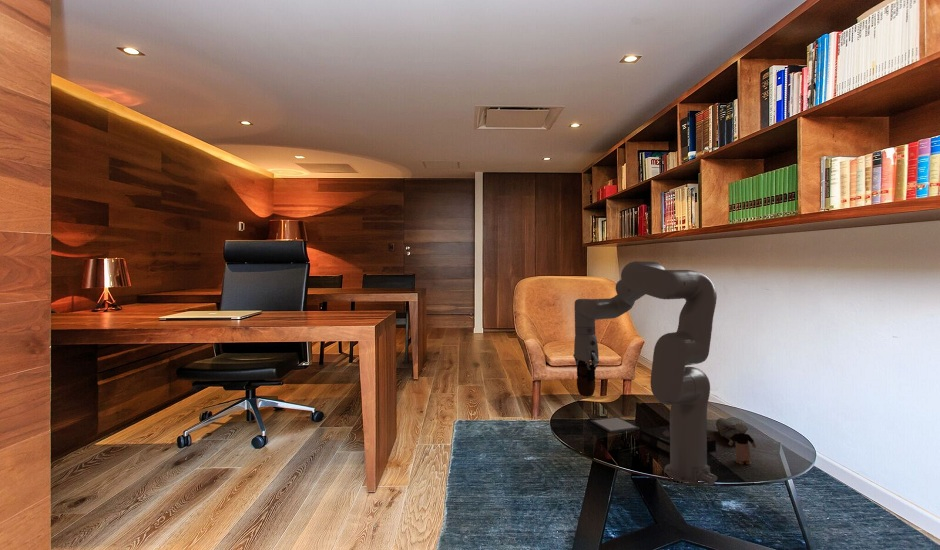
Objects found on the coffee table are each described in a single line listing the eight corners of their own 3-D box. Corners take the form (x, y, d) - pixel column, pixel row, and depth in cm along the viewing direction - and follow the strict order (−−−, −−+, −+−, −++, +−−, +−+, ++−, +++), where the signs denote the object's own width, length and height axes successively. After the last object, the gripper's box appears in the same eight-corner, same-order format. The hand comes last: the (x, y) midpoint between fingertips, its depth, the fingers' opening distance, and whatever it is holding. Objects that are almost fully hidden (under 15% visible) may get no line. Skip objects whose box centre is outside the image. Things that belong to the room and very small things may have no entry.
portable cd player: (639, 441, 147) (639, 430, 147) (675, 434, 153) (675, 424, 153) (676, 460, 132) (676, 447, 132) (715, 452, 138) (715, 440, 138)
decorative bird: (727, 432, 155) (727, 412, 155) (747, 449, 139) (746, 427, 139) (711, 431, 156) (711, 411, 156) (729, 448, 140) (729, 426, 140)
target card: (639, 429, 158) (639, 427, 158) (610, 433, 154) (610, 431, 154) (617, 418, 170) (617, 416, 170) (590, 421, 166) (590, 420, 166)
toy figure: (749, 459, 131) (748, 419, 131) (758, 465, 127) (757, 423, 127) (725, 460, 131) (725, 419, 131) (733, 465, 127) (733, 424, 127)
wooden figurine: (575, 396, 157) (574, 356, 157) (579, 392, 162) (578, 354, 162) (593, 398, 154) (592, 357, 154) (596, 394, 159) (595, 355, 159)
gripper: (607, 333, 151) (608, 382, 151) (581, 328, 168) (581, 373, 167) (589, 334, 149) (590, 384, 149) (564, 329, 166) (565, 374, 165)
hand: (585, 378), depth 158 cm, fingers closed on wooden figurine, 6 cm apart
